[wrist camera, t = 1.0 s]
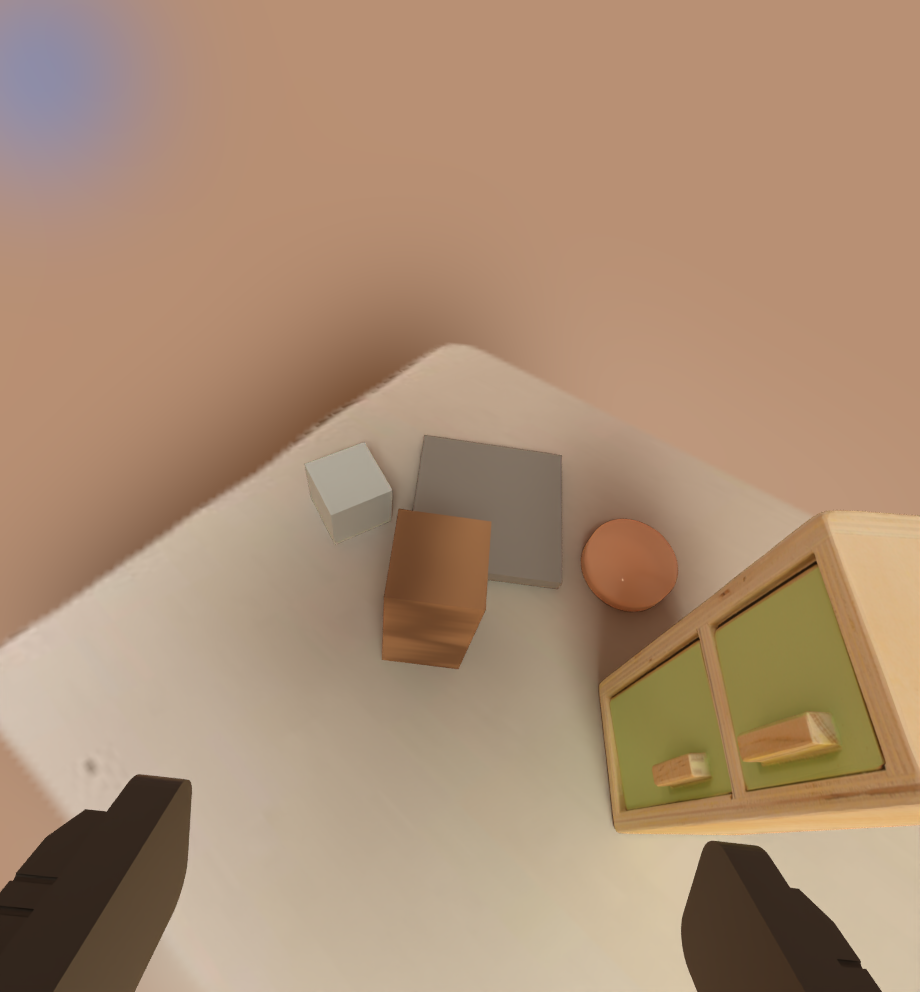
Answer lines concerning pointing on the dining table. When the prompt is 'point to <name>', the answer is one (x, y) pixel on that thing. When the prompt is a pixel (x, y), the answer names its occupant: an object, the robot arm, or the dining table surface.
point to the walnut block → (435, 588)
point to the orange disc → (629, 565)
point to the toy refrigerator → (780, 693)
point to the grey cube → (349, 492)
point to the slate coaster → (499, 503)
